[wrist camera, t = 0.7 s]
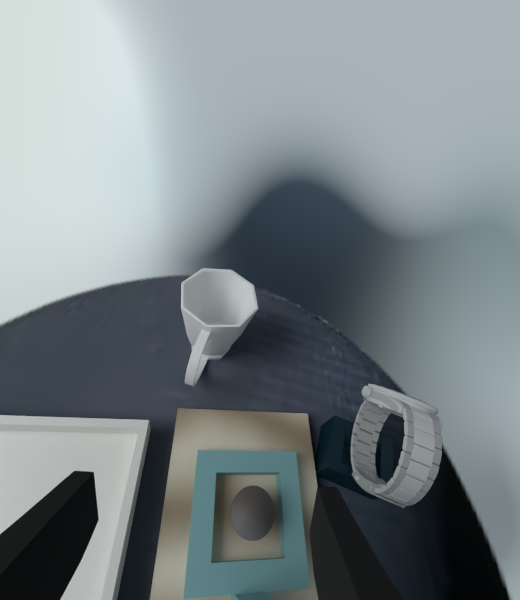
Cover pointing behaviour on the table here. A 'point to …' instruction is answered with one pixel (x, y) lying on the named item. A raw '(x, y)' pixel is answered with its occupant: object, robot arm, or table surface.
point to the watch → (382, 448)
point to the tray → (60, 464)
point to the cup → (214, 315)
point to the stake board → (232, 495)
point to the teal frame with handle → (252, 572)
